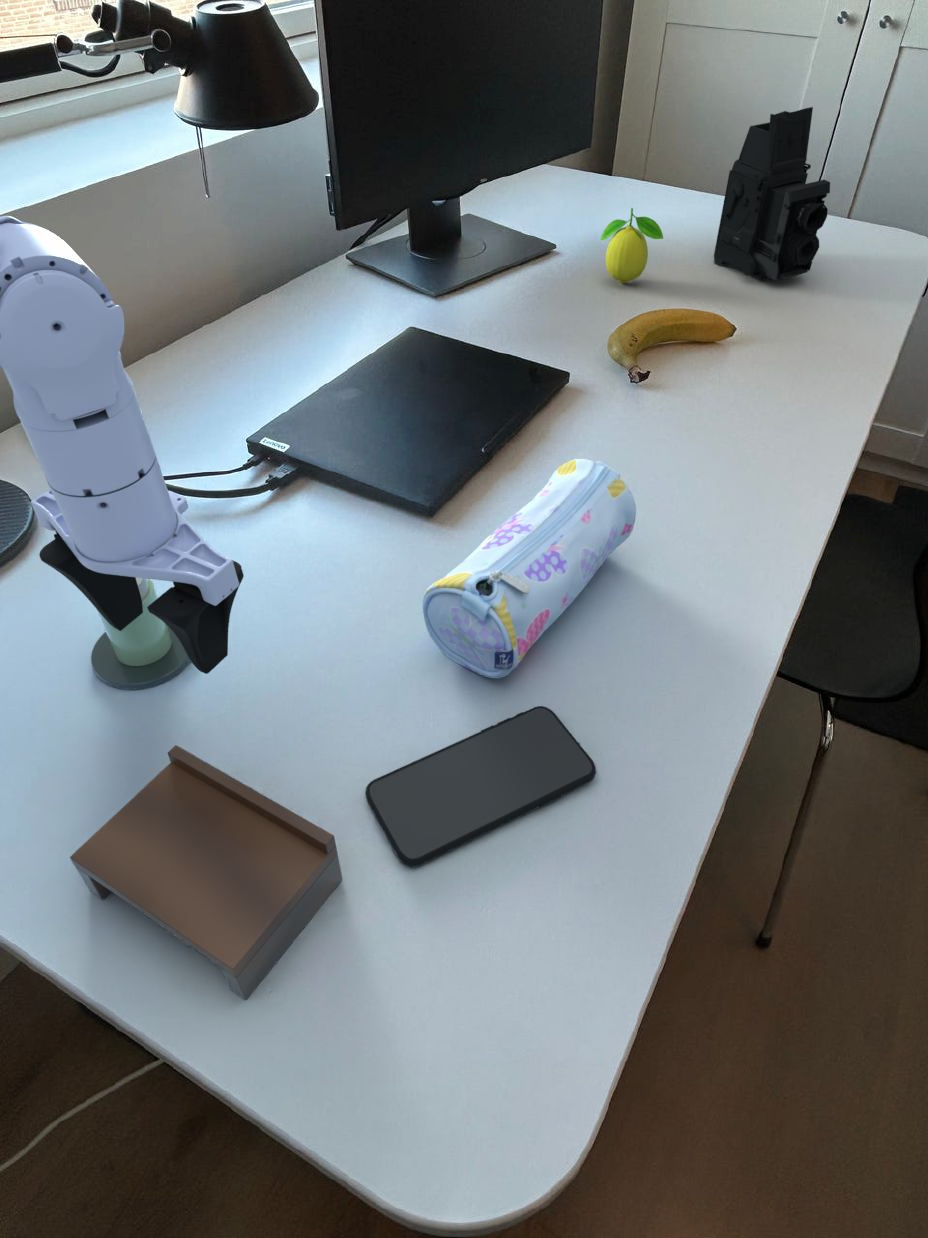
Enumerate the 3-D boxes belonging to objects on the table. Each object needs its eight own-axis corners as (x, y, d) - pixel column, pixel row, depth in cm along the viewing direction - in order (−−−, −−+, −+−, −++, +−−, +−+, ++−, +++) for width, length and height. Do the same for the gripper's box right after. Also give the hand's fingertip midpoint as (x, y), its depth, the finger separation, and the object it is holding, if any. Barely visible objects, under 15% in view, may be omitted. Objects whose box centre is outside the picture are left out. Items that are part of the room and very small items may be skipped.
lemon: (656, 289, 119) (667, 212, 113) (618, 296, 118) (627, 219, 111) (630, 271, 124) (640, 196, 117) (594, 277, 122) (601, 202, 115)
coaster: (74, 682, 68) (71, 677, 67) (121, 612, 73) (119, 607, 73) (171, 696, 67) (169, 690, 66) (211, 623, 72) (210, 618, 72)
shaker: (105, 662, 68) (76, 594, 63) (130, 624, 72) (104, 555, 67) (158, 669, 68) (133, 600, 63) (181, 630, 71) (159, 562, 66)
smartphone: (358, 783, 60) (545, 699, 65) (359, 791, 60) (544, 708, 65) (406, 869, 55) (603, 771, 60) (407, 876, 56) (602, 779, 60)
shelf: (246, 1001, 50) (229, 961, 46) (89, 891, 55) (63, 848, 51) (343, 879, 55) (334, 835, 52) (192, 789, 60) (175, 744, 57)
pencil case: (505, 704, 66) (508, 612, 59) (413, 656, 69) (407, 564, 63) (635, 558, 78) (650, 468, 72) (551, 523, 82) (558, 435, 75)
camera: (771, 297, 117) (811, 130, 103) (703, 262, 126) (732, 104, 112) (825, 281, 121) (871, 118, 107) (755, 249, 129) (789, 94, 116)
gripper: (253, 464, 47) (296, 641, 56) (69, 398, 53) (136, 568, 62) (156, 538, 43) (220, 716, 52) (-32, 457, 48) (57, 630, 58)
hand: (170, 640), depth 57 cm, fingers open, 7 cm apart
